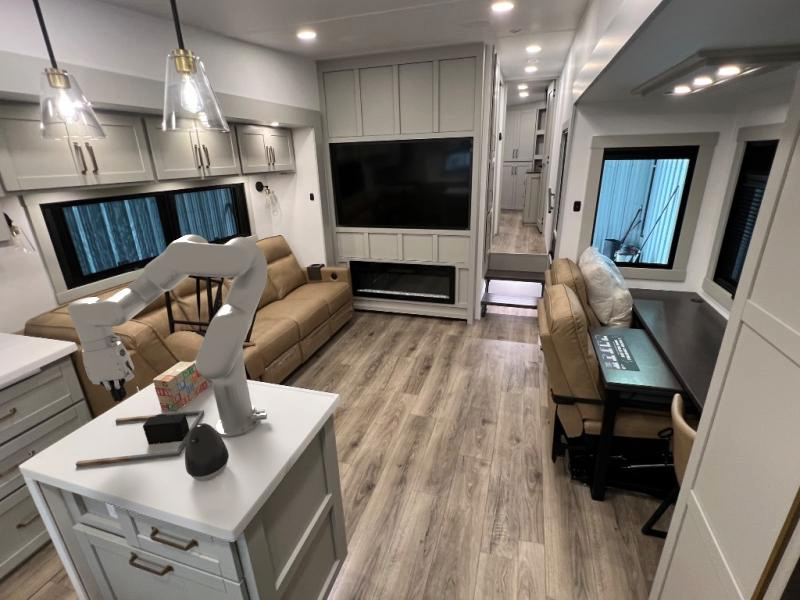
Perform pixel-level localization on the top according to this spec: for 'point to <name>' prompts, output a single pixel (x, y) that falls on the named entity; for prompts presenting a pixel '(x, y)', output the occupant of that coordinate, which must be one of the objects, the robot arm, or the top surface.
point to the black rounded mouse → (205, 453)
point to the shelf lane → (114, 459)
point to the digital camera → (166, 428)
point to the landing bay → (182, 445)
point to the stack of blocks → (179, 385)
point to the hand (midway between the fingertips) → (120, 398)
